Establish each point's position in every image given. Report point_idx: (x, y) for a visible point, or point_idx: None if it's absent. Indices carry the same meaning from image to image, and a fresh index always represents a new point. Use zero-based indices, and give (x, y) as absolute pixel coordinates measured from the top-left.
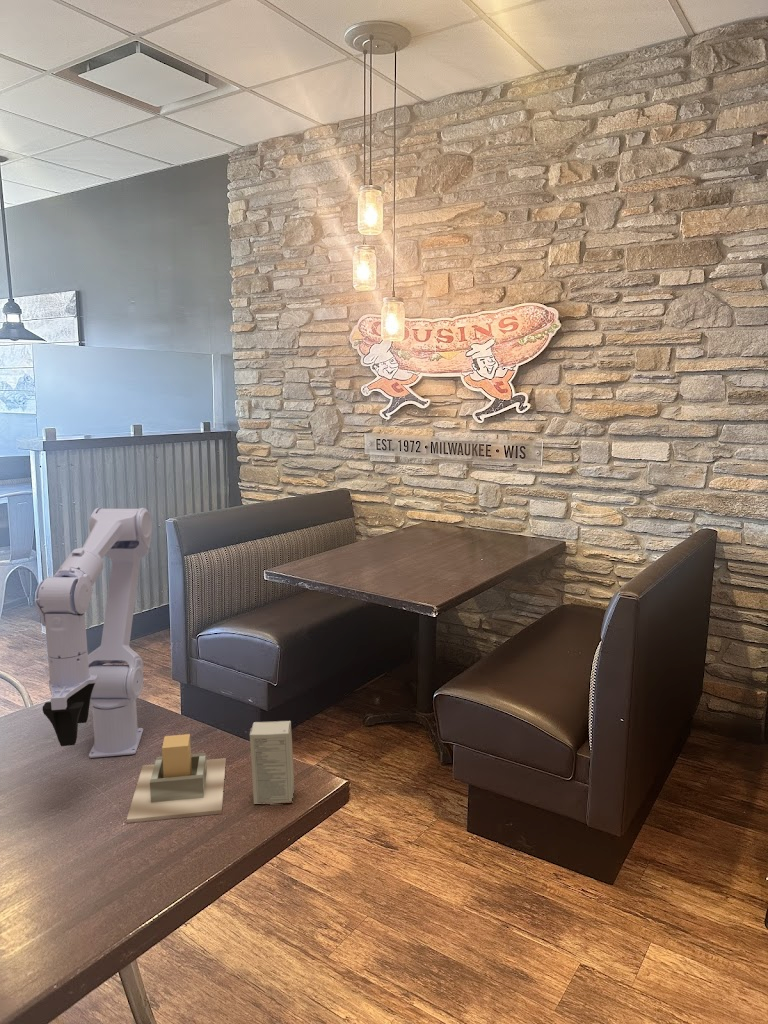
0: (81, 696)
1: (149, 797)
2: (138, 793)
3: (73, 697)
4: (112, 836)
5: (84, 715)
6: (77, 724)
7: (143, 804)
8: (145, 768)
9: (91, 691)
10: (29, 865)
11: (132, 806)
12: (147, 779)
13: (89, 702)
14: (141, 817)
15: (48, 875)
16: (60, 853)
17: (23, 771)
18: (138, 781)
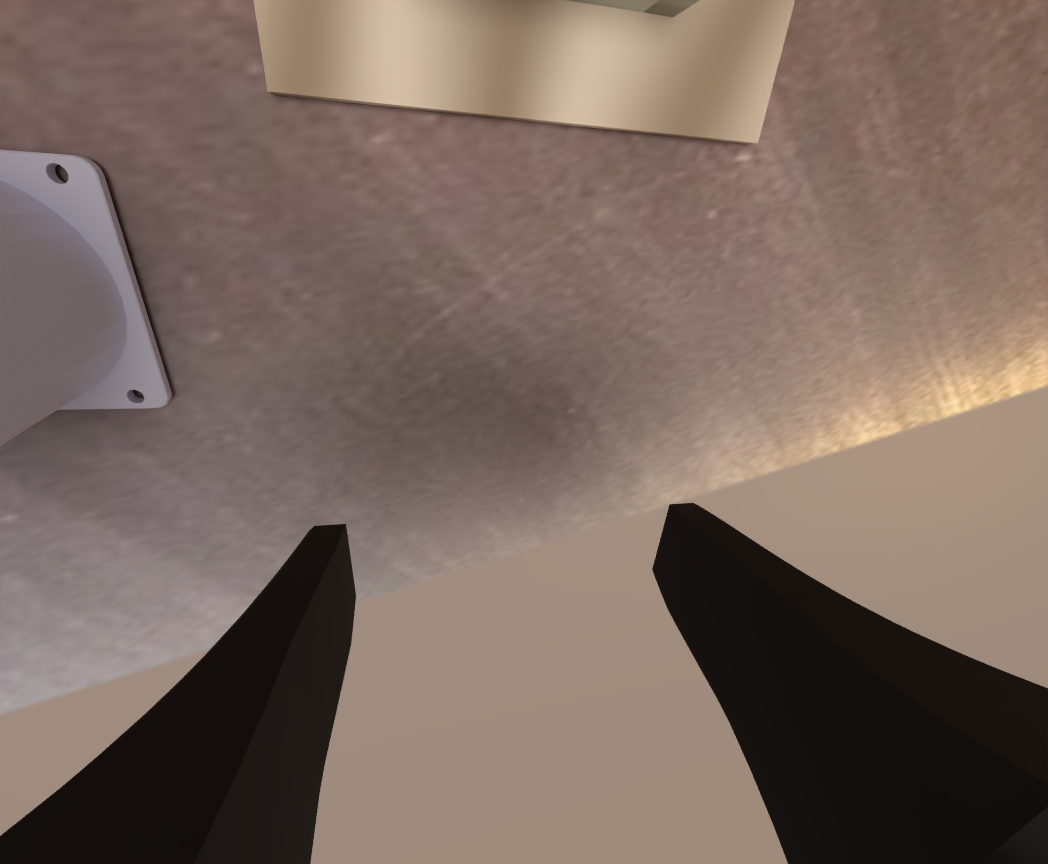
0: (279, 798)
1: (624, 28)
2: (571, 98)
3: (297, 840)
4: (802, 196)
5: (332, 577)
6: (798, 593)
7: (675, 62)
8: (308, 69)
9: (190, 795)
10: (815, 419)
11: (670, 123)
12: (437, 49)
13: (244, 645)
14: (773, 67)
15: (884, 361)
16: (806, 353)
17: None
18: (450, 107)
